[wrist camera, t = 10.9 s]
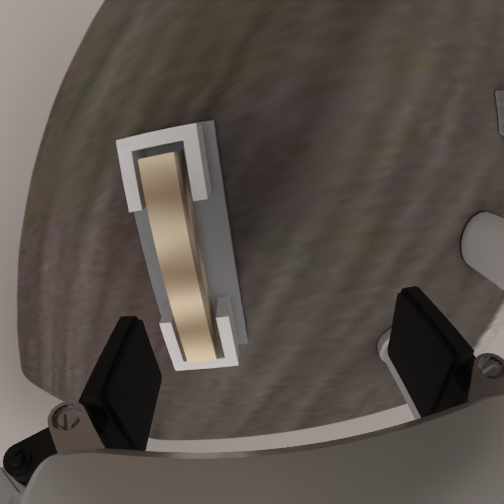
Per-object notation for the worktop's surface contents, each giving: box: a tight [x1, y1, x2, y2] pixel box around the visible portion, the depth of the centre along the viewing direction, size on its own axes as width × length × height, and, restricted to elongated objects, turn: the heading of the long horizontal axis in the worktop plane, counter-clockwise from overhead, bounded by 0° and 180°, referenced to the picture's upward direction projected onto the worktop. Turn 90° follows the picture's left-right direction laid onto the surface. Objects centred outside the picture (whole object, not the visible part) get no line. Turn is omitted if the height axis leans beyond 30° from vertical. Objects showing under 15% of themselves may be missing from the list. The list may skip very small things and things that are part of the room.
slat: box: [138, 150, 219, 363], centre depth 28 cm, size 20×3×4 cm, turn 7°
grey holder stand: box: [116, 120, 248, 371], centre depth 29 cm, size 24×9×6 cm, turn 7°
